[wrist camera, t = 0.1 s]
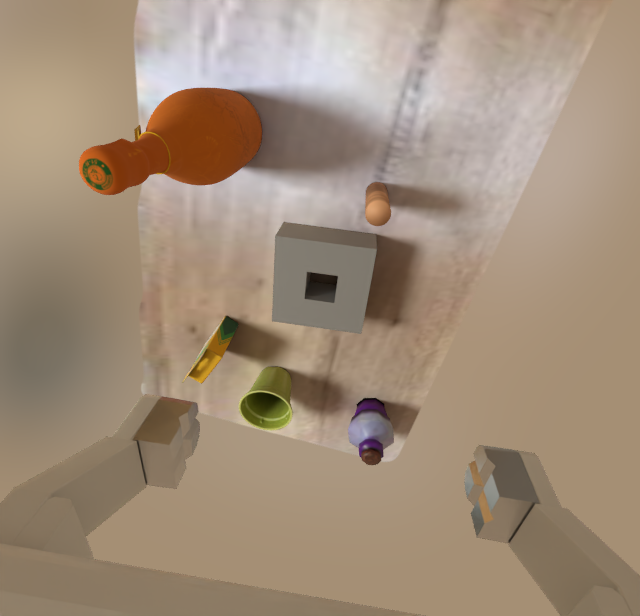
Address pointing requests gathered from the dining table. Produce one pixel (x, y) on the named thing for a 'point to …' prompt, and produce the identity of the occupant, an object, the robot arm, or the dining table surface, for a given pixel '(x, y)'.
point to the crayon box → (213, 350)
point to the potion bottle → (371, 430)
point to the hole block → (325, 258)
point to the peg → (377, 204)
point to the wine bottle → (180, 143)
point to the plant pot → (268, 400)
